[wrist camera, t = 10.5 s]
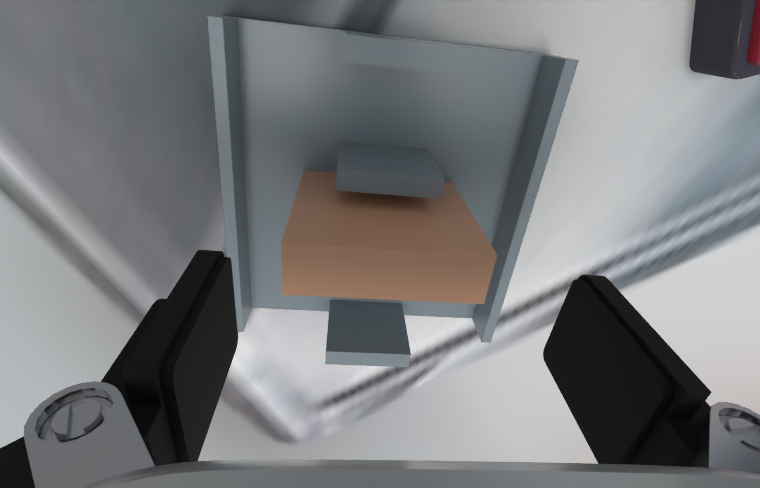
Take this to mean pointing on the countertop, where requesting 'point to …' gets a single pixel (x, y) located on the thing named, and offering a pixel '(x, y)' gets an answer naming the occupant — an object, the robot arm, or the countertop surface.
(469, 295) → the tile
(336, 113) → the rack
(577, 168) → the countertop surface
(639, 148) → the countertop surface
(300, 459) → the robot arm
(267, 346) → the countertop surface
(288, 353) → the countertop surface
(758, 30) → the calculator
